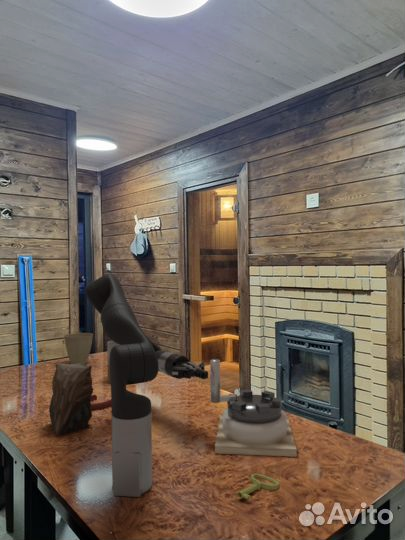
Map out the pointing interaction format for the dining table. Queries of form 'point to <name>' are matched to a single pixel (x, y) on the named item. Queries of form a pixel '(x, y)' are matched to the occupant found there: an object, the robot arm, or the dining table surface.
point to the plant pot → (78, 347)
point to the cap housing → (255, 430)
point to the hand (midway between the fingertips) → (206, 375)
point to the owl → (71, 398)
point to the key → (258, 485)
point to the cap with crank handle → (245, 401)
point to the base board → (276, 449)
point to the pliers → (99, 404)
